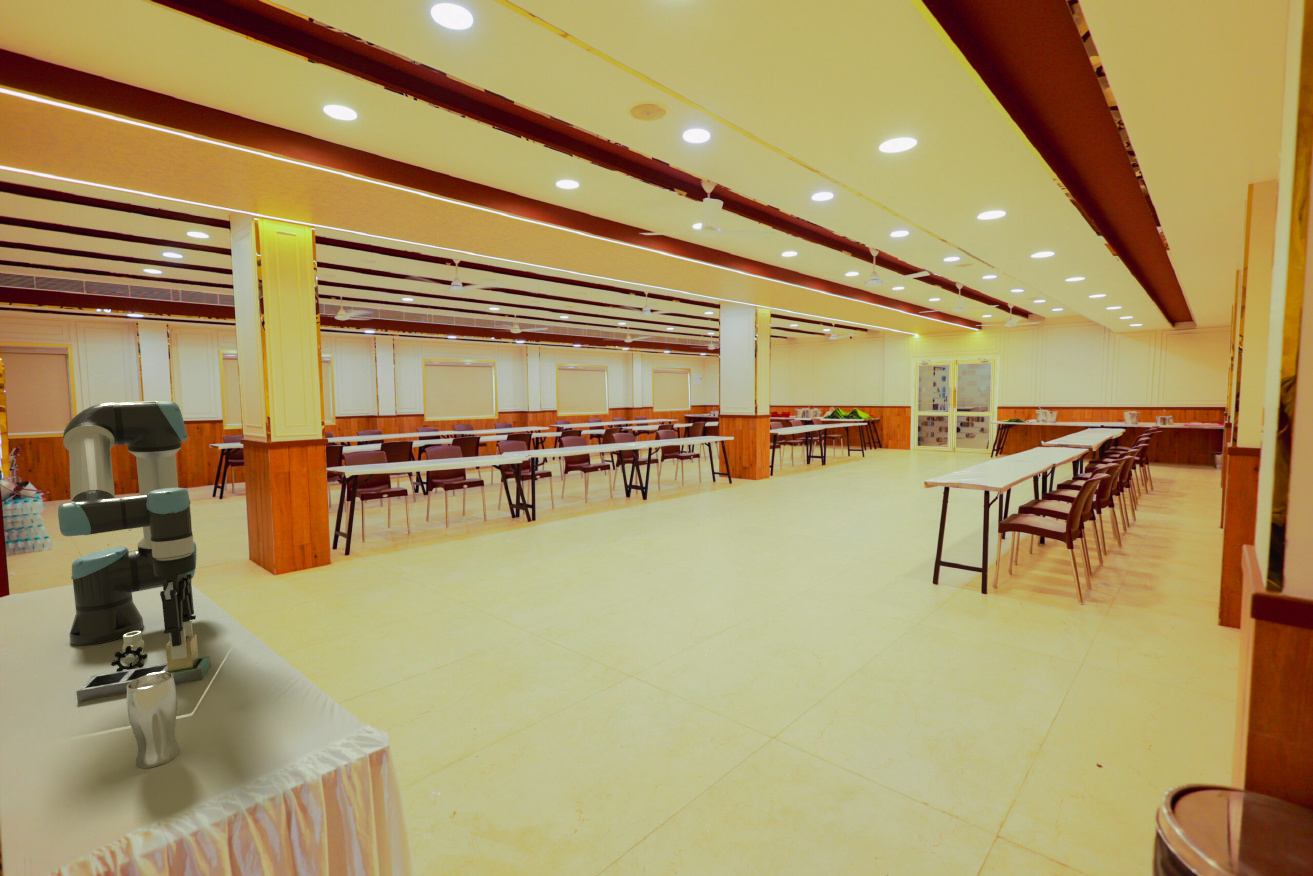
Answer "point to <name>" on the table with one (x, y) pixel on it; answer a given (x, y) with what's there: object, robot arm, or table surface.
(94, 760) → the table surface
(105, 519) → the robot arm
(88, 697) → the divided tray
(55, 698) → the table surface
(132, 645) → the valve
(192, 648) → the hollow square tube
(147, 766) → the beer glass
